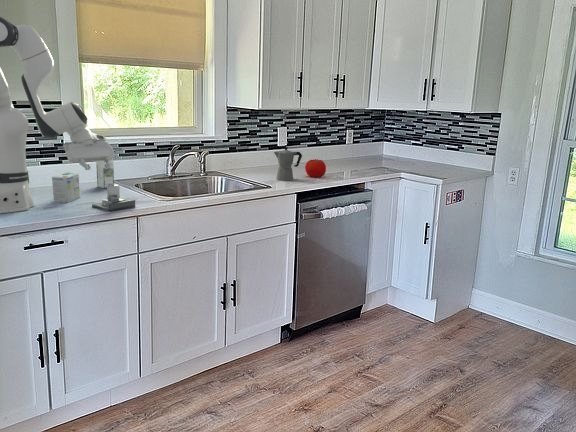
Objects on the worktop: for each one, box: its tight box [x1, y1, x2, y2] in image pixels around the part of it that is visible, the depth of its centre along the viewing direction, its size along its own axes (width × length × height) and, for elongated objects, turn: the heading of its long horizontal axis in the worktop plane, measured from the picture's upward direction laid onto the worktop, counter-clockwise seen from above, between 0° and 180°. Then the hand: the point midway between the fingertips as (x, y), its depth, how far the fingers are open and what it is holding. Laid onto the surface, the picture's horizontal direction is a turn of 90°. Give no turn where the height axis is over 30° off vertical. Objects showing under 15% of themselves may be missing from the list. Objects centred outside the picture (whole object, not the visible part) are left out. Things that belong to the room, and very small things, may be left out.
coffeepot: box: [273, 146, 303, 182], centre depth 290 cm, size 15×9×18 cm, turn 86°
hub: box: [101, 183, 126, 206], centre depth 217 cm, size 6×6×8 cm
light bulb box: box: [51, 172, 81, 204], centre depth 226 cm, size 11×7×11 cm, turn 174°
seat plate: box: [92, 198, 136, 213], centre depth 218 cm, size 12×12×3 cm
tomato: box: [304, 158, 327, 178], centre depth 302 cm, size 12×12×10 cm
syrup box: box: [95, 158, 115, 189], centre depth 252 cm, size 6×6×14 cm
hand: (98, 168), depth 218 cm, fingers open, 8 cm apart
